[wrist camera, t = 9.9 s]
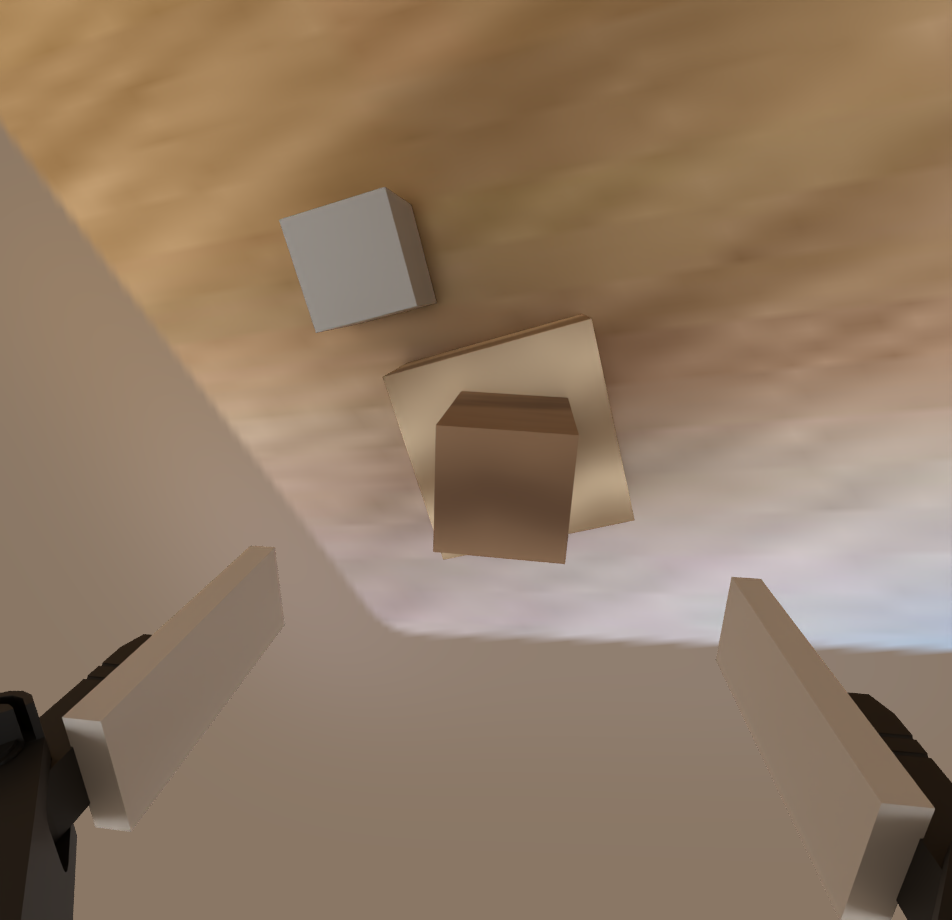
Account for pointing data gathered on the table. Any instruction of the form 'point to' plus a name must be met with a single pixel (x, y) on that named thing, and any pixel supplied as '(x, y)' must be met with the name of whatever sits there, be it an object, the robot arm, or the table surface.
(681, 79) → the table surface
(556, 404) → the walnut block
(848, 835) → the robot arm
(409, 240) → the slate cube
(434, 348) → the table surface
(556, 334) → the birch block
